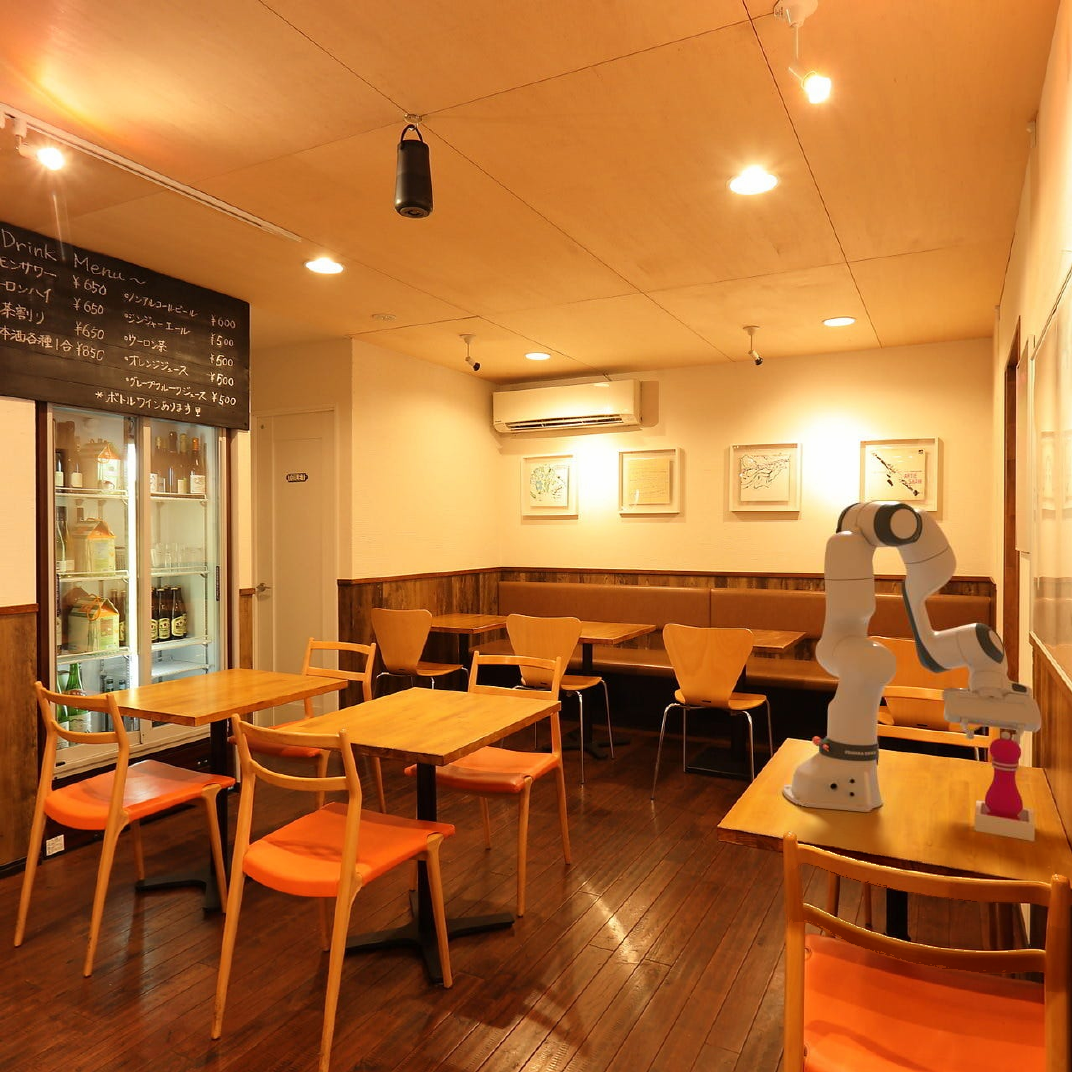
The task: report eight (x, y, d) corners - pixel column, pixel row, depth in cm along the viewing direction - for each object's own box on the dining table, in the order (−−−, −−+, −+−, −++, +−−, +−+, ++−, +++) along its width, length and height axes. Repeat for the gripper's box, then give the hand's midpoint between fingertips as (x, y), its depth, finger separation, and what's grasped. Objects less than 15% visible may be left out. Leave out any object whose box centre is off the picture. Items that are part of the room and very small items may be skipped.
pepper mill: (1027, 830, 173) (1030, 736, 173) (990, 827, 175) (993, 734, 175) (1015, 819, 180) (1017, 729, 180) (979, 816, 182) (982, 726, 182)
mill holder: (974, 830, 175) (974, 814, 175) (976, 815, 185) (976, 800, 185) (1034, 841, 170) (1034, 824, 170) (1032, 825, 179) (1033, 809, 179)
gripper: (943, 679, 201) (944, 726, 192) (1039, 688, 193) (1045, 738, 184) (940, 694, 205) (942, 741, 196) (1035, 704, 197) (1040, 754, 188)
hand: (993, 740), depth 190 cm, fingers open, 8 cm apart
